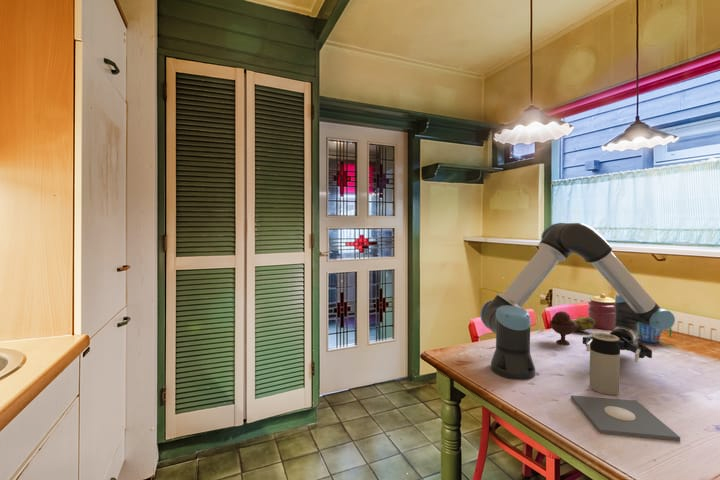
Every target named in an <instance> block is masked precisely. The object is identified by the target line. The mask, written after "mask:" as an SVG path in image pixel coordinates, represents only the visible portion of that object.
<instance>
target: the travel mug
mask: <svg viewBox="0 0 720 480" xmlns="http://www.w3.org/2000/svg"><path fill="white" fill-rule="evenodd" d="M590 336H592V339H593V340H592V341H591V343H590V351H589V388H591V389H592V390H594V391H595V392H597V393H600V394H602V395H603V394H604V395H607V396H608V395H610V396H613V395H614V396H616V395H618V394H619V393H620V378H621V376H620V374H621V372H620V371H621V350H620V347H619V345H618V340H619V338H618V337H617V336H615V335H611V334H610V333H605V332H592V333H591V335H590Z"/></svg>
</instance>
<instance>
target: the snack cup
mask: <svg viewBox="0 0 720 480" xmlns="http://www.w3.org/2000/svg"><path fill="white" fill-rule="evenodd" d="M638 328H639V336H638V337H637V339H639V340H640V341H641V342H646V343H654V344H657V343H659V342H661V341H660V340H661V336H662V331H663V330H660V329H657V328H652V327H650V326H648V325H645V324H642V323H639V322H638ZM668 330H669V334H668V337H672V333H673V330H672V327H671V328H670V329H668Z"/></svg>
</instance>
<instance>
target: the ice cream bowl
mask: <svg viewBox="0 0 720 480" xmlns="http://www.w3.org/2000/svg"><path fill="white" fill-rule="evenodd" d="M549 325H550V327H551V329H552V330H553V331H554V332H555V333H556V334H559V335H560V339H557V340H556V341H555V342H556V344H557V345H561V346H571V345H570V342H569V341H568V340H566V336H569V335H571V334H573V333H575V332H576V331H575V330H576V329H577V324H576V323H574V322H573V321H572V319H571V316H570V314H569V313H568V312H566V311H563V310H562V311H558V312H556V313H555V314H554V315H553V316H552V319H551V320H549Z"/></svg>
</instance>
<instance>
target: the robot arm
mask: <svg viewBox="0 0 720 480" xmlns="http://www.w3.org/2000/svg"><path fill="white" fill-rule="evenodd" d="M540 236H541V237H540V238H541V240H540V241H539V243H538V244H537V245H538V250H537V252H536V253H535V254H534V255H533V257H532V258H530V260H529V261H528V262H527V264H526V265H525V266H524V268H523V269H521V271H520V272H519V273H518V274H517V276H516V277H515V278H514V280H513V281H512V282H511V284H510V285H509V286H508V287H507V288H506V290H505V291H504V292H503V293H498V294H496V295H495V297H493V299H492V300H488V301H486V302H485V303H484V304H483V305H482V306H481V307H480V311H479V315H480V317H479V318H480V320H481V322H482V323H483V325H484V326H485V327H486V328H487V329H489V330H490V331H491V332H493V333H494V334H495V350H494V353H493V356H492V358H491V361H490V369H491V371H492V372H493V373H495V374H496V375H498V376H500V377H504V378H506V379H511V380H518V381H519V380H521V381H525V380H530V379H533V378H534V377H535V376H536V366H535V364H534V361H533V359H532V355H531V324H532V323H531V322H532V321H531V315H530V313H529V311H528V310H526V309H524V308H522V307H523V306H524V305H525V304H526V302H527V301H528V300H529V298H530V297H531V296H532V295H533V294H534V293H535V291H536V290H537V289H539V287H540V285H542V283H543V282H544V280H545V279H546V278H547V277H548V276H549V275H550V274H551V272H552V270H553V269H554V268H555V267H556V266H557V265H558V263H560V262H565V261H566V260H567V259H568V258H569V257H570V255H571V254H575V255H578V256H579V257H581V258H582V259H583V260H584V261H585V262H586V263H588V264H591V265H592V266H593V267H594V268H595V270H596V271H598V273H599V274H600V275H601V276H602V277H603V278H604V279H605V280H606V281H607V283H608V284H609V285H610V287H612V288H613V290H615V291H616V293H617V294H616V295H615V299H614V300H615V328H614V329H611V332H610V333H609V334H611V335H615V336H617V337H618V338H619V340H618V345H619V347H620V351H629V352H632V353H634V363H639V360H640V359H644V358H645V357H647V358H649V359H652V358H653V350H651V348H649V347H647V346H646V345H645V344H643V341H638V342H635V341H636V339H638V336H639V328H638V322H639V323H642V324H645V325H648V326H650V327H652V328H657V329H660V330H662V331H666V330H669V329H670V328H671V329H672V327H673V326H674V325H675V321H676V319H675V317H676V316H675V315H674V314H673V313H672V312H671V311H670V310H667V309H666V308H661V307H660V305H658V304H657V303H656V301H655V300H654V299H653V298H652V296H651V295H650V294H649V293H648V292H647V291H646V290H645V289H644V287H643V286H642V285H641V284H640V283H639V282H638V280H637V279H636V278H635V276H633V274H631V272H630V271H629V270H628V269H627V268H626V267H625V265H624V264H623V263H622V262H621V260H619V259H618V257H617V256H616V255H615V254H614V253H613V247H612V245H611V244H610V243H609V242H608V241H607V240H606V239H605V238H604V237H603V236H602V235H601V233H599V232H597V230H595V229H594V228H593V227H592V226H589V225H587V224H585V223H580V222H571V223H570V222H569V223H568V222H567V223H565V222H558V223H553V224H551V225H548V226H547V227H546V228H545V229H544V230H543V231H542V234H541V235H540ZM592 340H593V339H592V336H591V335H587V336H582V344H583V345H585V347H586V352H589V353H590V343H591V341H592Z"/></svg>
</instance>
